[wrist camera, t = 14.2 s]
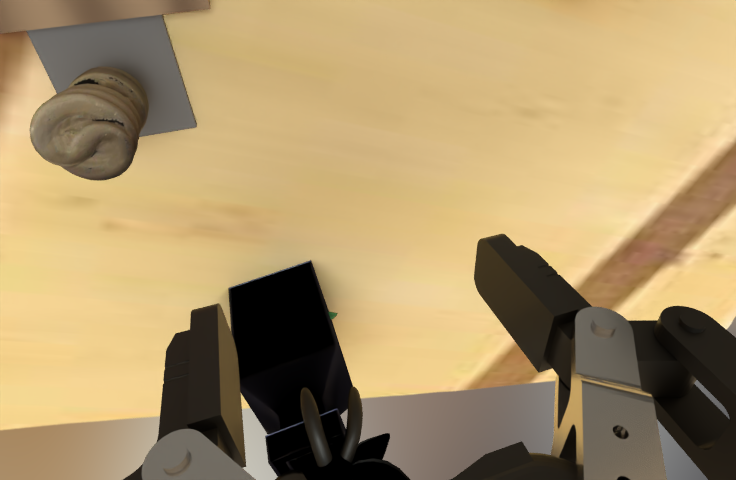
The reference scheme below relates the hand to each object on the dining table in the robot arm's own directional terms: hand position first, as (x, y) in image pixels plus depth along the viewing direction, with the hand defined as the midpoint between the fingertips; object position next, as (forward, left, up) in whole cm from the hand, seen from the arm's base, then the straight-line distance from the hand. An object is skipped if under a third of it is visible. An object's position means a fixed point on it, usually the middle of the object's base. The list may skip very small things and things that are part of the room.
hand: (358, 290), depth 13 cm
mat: (+12, +1, -34) cm, 36 cm away
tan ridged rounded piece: (+12, +1, -34) cm, 36 cm away
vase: (+3, +31, -34) cm, 46 cm away
